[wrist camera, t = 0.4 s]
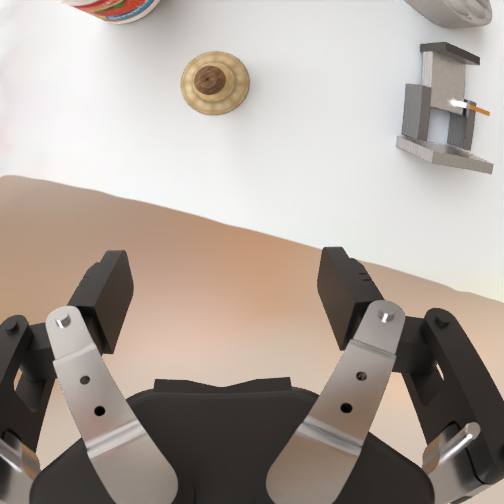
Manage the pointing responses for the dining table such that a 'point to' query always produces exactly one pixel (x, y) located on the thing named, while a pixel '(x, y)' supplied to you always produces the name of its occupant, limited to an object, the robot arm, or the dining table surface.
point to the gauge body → (457, 135)
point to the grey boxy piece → (447, 75)
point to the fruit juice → (114, 9)
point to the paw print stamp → (454, 12)
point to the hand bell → (215, 83)
